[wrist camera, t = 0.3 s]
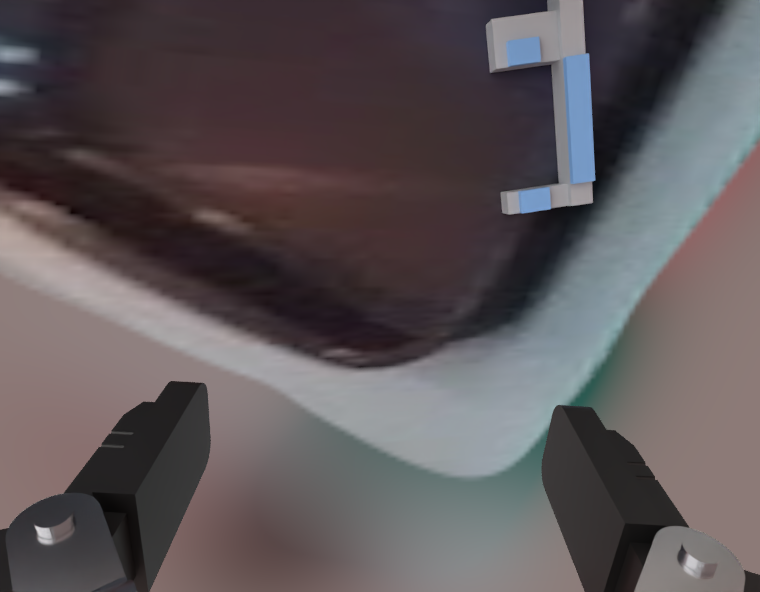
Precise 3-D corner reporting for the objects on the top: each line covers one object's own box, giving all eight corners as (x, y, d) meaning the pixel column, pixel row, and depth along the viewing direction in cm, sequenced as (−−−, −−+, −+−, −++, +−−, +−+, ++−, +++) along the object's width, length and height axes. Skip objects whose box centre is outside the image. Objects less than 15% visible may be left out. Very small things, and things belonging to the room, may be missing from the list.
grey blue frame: (470, -139, 34) (481, -164, 31) (561, -151, 34) (577, -176, 31) (502, 213, 39) (513, 215, 36) (580, 201, 39) (596, 203, 36)
